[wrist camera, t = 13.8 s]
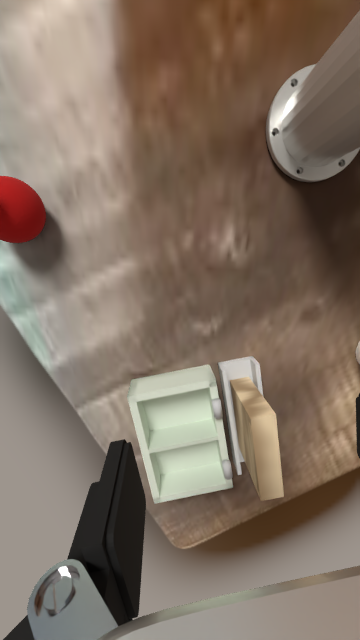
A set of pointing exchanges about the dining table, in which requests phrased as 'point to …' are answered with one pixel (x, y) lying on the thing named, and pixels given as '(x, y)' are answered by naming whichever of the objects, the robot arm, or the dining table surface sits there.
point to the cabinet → (188, 428)
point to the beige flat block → (257, 438)
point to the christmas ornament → (19, 211)
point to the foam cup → (358, 353)
